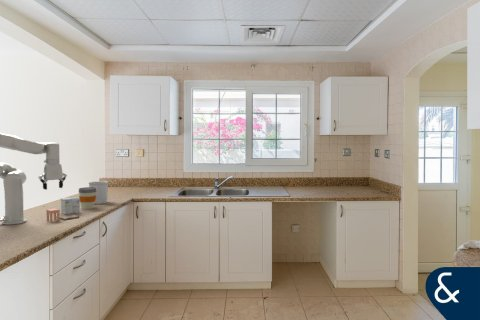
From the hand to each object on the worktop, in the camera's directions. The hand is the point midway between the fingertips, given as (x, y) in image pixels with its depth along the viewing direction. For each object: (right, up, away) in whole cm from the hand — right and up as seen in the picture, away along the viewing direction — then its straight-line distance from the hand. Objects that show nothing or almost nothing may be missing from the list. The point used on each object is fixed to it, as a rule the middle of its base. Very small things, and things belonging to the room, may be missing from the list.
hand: (53, 188), depth 213 cm
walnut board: (+5, -20, +8) cm, 23 cm away
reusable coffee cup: (+2, -19, +44) cm, 48 cm away
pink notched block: (0, -21, +1) cm, 21 cm away
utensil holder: (+1, -18, +65) cm, 67 cm away
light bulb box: (-1, -20, +24) cm, 31 cm away
